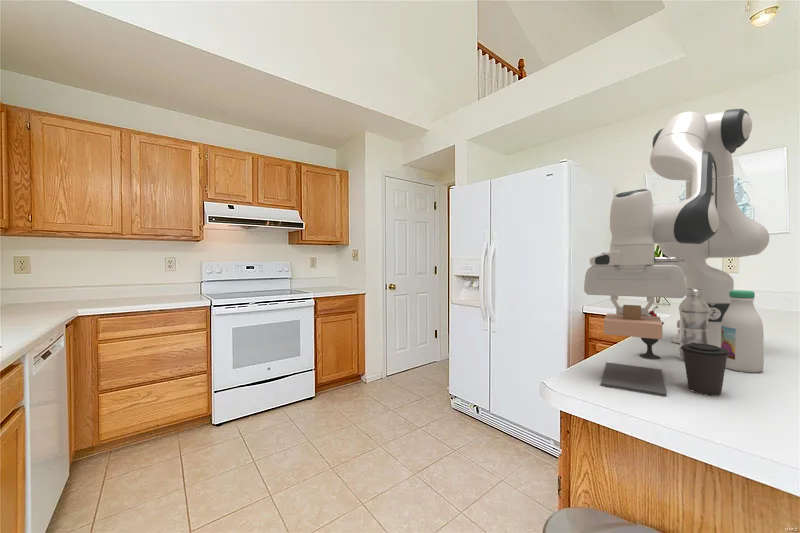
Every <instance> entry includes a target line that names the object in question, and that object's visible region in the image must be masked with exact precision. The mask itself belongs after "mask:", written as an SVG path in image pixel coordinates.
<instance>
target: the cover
mask: <svg viewBox="0 0 800 533" xmlns="http://www.w3.org/2000/svg"><path fill="white" fill-rule="evenodd" d="M622 307H623V315H618V314H616V313H606V315H605V317H604V319H603V335H611V336H622V337H629V338H630V337H632V338H640V339H641V338H652V339H658V340H663V325H662V322H663V321H662V320H661V318H660V316H657V317H655V316H641V308H642V305H636V304H635V305H634V304H623V306H622Z"/></svg>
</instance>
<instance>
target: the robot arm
mask: <svg viewBox="0 0 800 533" xmlns="http://www.w3.org/2000/svg"><path fill="white" fill-rule="evenodd" d="M749 114H750V113H749V112H748V111H747V110H745V109H744V108H733V109H732V108H731V109H726V110H725V111H719V112H714V113H708V114H705V115H704V114H702V113H700V112H697V111H691V110H690V111H683V112H680V113H677V114H676V115H674V116H672V117H671V118H670V119H669V120H668V121H667V123H666V124H665V125H664V126H663V128H661V129H659V130H658V131H657V132H656V134H654V136H653V137H652V150H651V153H650V158H649V163H650V164H649V165H650V167H651V169H652V170H653V171H654V173H655V174H657V175H658V176H660V177H662V178H664V179H667V180H672V181H685V200H682V201H679V202H670V203H665V204H663V203H662V204H655V203H654V202H653V196H652V192H651V190H649V189H646V188H641V189H635V190H630V191H629V190H628V191H624V192H620V193H617V194H615V195H614V196H613V197H612V200H611V206H610V212H609V230H610V233H611V241H610V243H609V249H610V250H609V251H608V252H602V253H600V254H597V255H594V256H591V257H590V258H589V265H590V267H588V268H587V269H586V272H585V275H584V282H583V284H584V285H583V291H584V293H585V294H586V295H589V296H608V297H609V296H610V301H611V303H612V304H613V306H614V307H615V309H616V310H615V314H618V315H623V306H620V305H619V304H618V302H617V301H618V299H619V297H637V298H639V297H640V298H646V302H648V303H647V304H646V305H645V307H641V316H648V315H649V312H650V309H651V307H652V306H653V304H654V303H655V298H661V299H662V298H664V299H665V298H667V299H670V298H671V299H672V298H673V299H683V298H686V294H687V288H695V289H703V294H704V296H702V298H703V300H704V301H705V302H706V303H707V304H708V306H709V308H710V312H709V319H708V328H707V336H708V344H709V345H714V346H717V347H719V348H721V323H722V318H723V316H724V314H725V312H726V311H727V309H728V307H729V305H730V299H729V298H730V296H729V291H732V290H735V289H734V282H735V281H734V278H733V277H732V276H731V275H730V274H729V273H727V272H726V271H723V270H722V269H718V268H715V267H712V266H711V265H709V264H708V263H707V261H706V260H707V259H711V258H713V259H717V258H719V259H720V258H721V259H723V258H724V259H725V258H728V259H729V258H732V259H733V258H743V257H750V256H757V255H759V254H761V253H762V252H763V251H764V250H765V249H766V248H767V247H768V245H769V243H770V233H769V231H768V229H767V228H766V227H765V226H764V225H763V224H761V223H760V222H758V221H755V220H753V219H752V218H751V217H748V216H747V215H746V214H745V213H744V212H743V211H742V210H741V208H740V207H739V205H738V203H737V201H736V196H735V194H736V193H735V183H734V182H735V181H734V179H735V178H734V177H735V176H734V175H735V173H734V172H735V171H734V161H733V156H732V154H734V153H736V151H737V149H738V148H741V147H742V146H743V145H744V144H745V143H746V142H747V141H748V140H749V137H750V136H751V135H750V134H751V132H752V130H753V122H752V119H751V117H750V115H749ZM655 245H658V248H659V250H660V252H661V253H662V254H663V255H664V256H659V257H658V256H656V257H655ZM676 328H678V329H677V333H676V334H675V335H674V336H673V337H672V340H671V342H672V343H675V344H680V343H681V335H682V326H681V318H680V317H679V319H678V320H677V321H676Z"/></svg>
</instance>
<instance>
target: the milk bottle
mask: <svg viewBox="0 0 800 533" xmlns="http://www.w3.org/2000/svg"><path fill="white" fill-rule="evenodd" d="M755 295H756V294H755V292H754V291H753V290H742V289H741V290H735V289H734V290H732V291H729V296H730V298H729V299H730V305H729V307H728V309H727V311H726V312H725V314H724V316H723V318H722V323H721V348H723V349H726V350H728V352H729V353H730V355H728V356H727V360H726V366H725V369H726V368H727V370H729V369H730V370H732V371H736V372H743V373H751V374H754V373H757V374H758V373H762V372H763V371H764V361H765V360H764V351H765V350H764V349H765V348H764V347H765V346H764V343H765V342H764V324H763V321H762V318H761V316H760V315H759V313H758V312H757V310H756V308H755V304H754V301H755V300H756V299H755V297H756V296H755Z"/></svg>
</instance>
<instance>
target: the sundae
mask: <svg viewBox="0 0 800 533" xmlns="http://www.w3.org/2000/svg"><path fill="white" fill-rule="evenodd" d="M658 308H659V306H657V305H655V307H654V308H652V310H649V315H648V316H655V317H658V314H657V313H655V310H656V309H658ZM661 322H662V326H663V325H664V324H665V323H664V322H663V321H661ZM640 339H641V341H642V342H643V343H644V344H645V345H646V347H647V348H646V352H645V353H640V354H639V357H641V358H643V359H649V360H659V359H661V357H660V356H659V355H656V354H655V353H653V352H654V351H653V345H655V344H656V343H658V342H659V339H652V338H641V337H640Z"/></svg>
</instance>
